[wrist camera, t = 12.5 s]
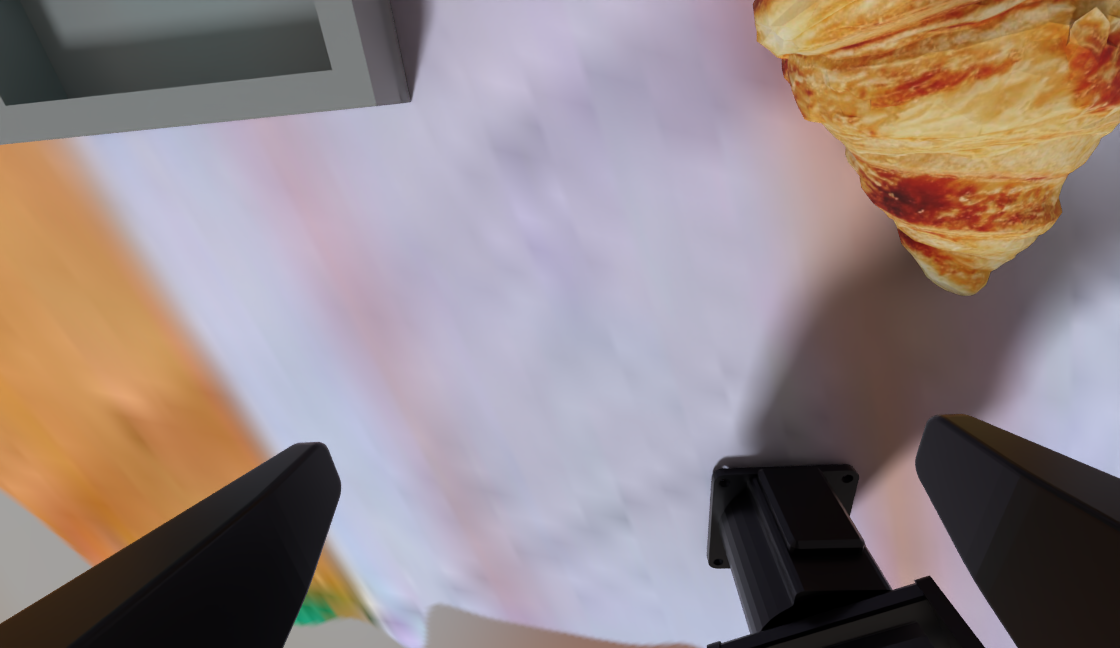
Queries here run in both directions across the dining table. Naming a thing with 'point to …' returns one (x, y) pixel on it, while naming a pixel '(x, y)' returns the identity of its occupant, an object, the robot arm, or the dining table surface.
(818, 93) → the croissant
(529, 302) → the dining table surface
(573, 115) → the dining table surface
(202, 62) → the bin
